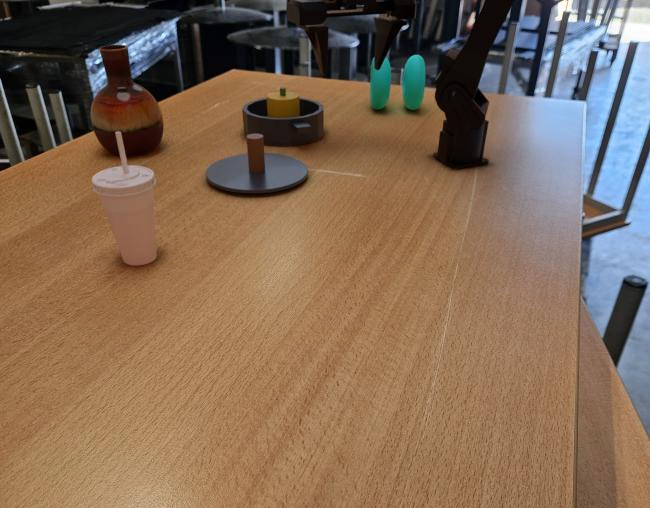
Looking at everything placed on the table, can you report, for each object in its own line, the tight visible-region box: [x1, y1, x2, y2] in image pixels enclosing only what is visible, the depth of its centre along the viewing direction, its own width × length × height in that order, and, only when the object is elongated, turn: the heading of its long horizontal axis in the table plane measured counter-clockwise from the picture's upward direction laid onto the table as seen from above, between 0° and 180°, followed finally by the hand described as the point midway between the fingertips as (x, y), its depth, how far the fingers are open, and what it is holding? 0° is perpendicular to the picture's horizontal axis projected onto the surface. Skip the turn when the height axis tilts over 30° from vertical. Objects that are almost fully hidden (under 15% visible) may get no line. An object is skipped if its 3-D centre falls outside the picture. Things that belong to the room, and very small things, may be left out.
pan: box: [241, 97, 325, 147], centre depth 101 cm, size 14×19×4 cm
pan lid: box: [205, 134, 309, 194], centre depth 83 cm, size 15×15×6 cm
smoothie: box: [91, 132, 158, 267], centre depth 61 cm, size 6×6×14 cm
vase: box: [89, 44, 164, 157], centre depth 90 cm, size 11×11×15 cm
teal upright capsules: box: [369, 54, 426, 111], centre depth 112 cm, size 10×10×10 cm
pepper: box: [266, 86, 300, 118], centre depth 100 cm, size 6×6×7 cm
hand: (350, 72), depth 89 cm, fingers open, 9 cm apart
